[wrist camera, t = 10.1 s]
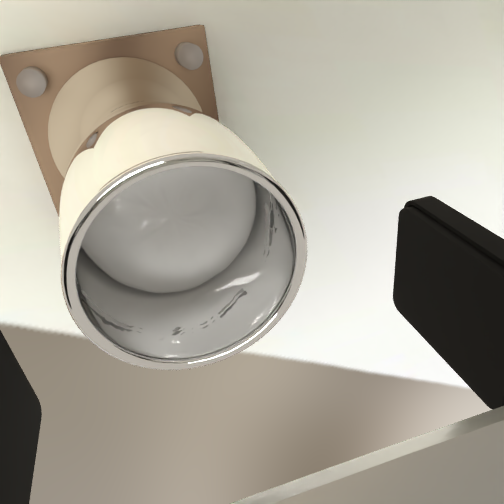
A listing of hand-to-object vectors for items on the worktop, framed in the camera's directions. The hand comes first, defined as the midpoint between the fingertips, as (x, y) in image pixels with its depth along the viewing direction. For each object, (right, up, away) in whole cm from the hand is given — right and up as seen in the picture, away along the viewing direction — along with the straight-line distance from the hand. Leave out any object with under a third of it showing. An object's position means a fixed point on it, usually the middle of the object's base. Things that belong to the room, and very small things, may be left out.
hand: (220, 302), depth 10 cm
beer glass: (-6, +8, +14) cm, 17 cm away
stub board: (-6, +8, +15) cm, 18 cm away
